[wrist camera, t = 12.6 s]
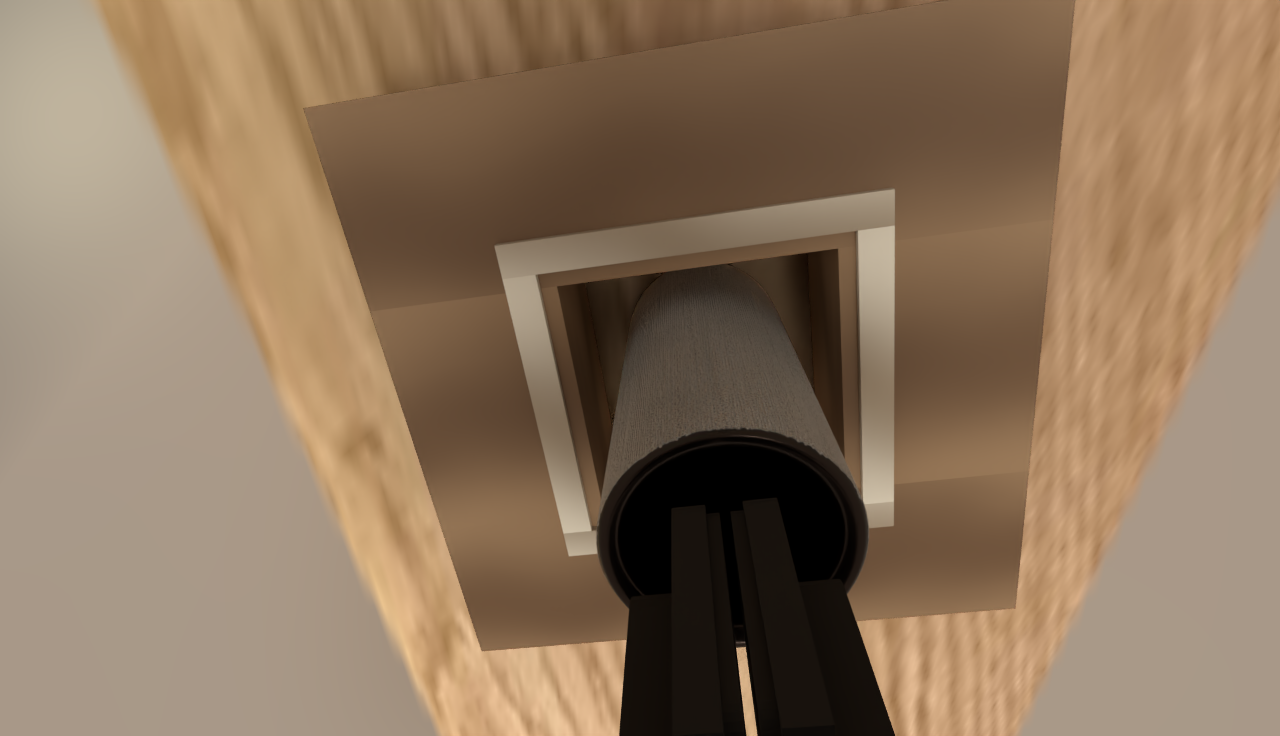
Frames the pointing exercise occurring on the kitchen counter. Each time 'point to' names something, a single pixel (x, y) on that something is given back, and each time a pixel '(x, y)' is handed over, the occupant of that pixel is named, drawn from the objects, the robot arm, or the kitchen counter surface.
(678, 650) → the robot arm
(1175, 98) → the kitchen counter surface
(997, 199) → the brown flat square frame
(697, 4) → the kitchen counter surface
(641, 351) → the grey hollow tube
